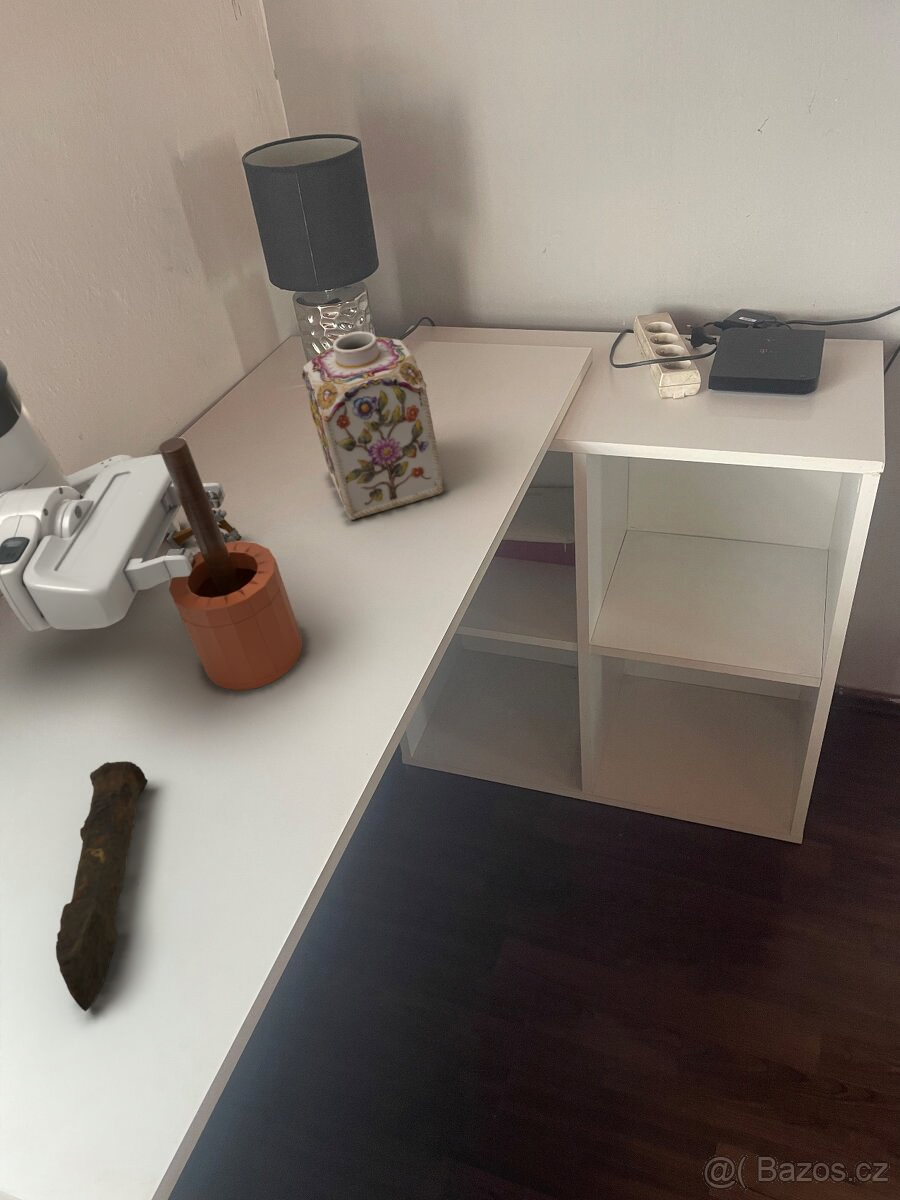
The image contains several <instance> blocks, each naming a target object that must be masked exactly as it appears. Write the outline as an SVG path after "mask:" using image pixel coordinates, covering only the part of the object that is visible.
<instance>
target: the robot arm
mask: <svg viewBox="0 0 900 1200" xmlns="http://www.w3.org/2000/svg"><path fill="white" fill-rule="evenodd" d="M66 476H67V475H66V474H65V472H64V470H63V468H62V466H61V464H60V463H59V461H58V460H57V458H56V456H55V454H54V453H53V451H52V449H51V448H50V445H49V443H48V442H47V440H46V438H45V437H44V435H43V434H42V432H41V430H40V428H39V426H38V425H37V424H36V422H35V420H34V419H33V417H32V415H31V414H30V412H29V410H28V408H27V407H26V405H25V404H24V402H23V401H22V397H21V395H20V392H19V391H18V389H17V387H16V384H15V383H14V380H13V378H12V376H11V374H10V372H9V370H8V369H7V366H6V364H5V363H4V362H3V361H2V360H0V592H1V594H2V595H3V597H4V599H5V600H6V602H7V604H8V606H9V607H10V608H11V610H12V612H13V613H14V615H15V616H16V618H17V619H18V620H19V621H20V623H21V624H22V625H23V627H24V628H25V629H26V630H27V631H28V632H40V631H45V630H48V629H49V628H52V629H56V630H61V631H62V630H65V631H67V630H90V629H91V630H92V629H101V628H106V627H109V626H112V625H114V624H115V623H117V622H120V621H121V620H123V619H124V618H125V617H126V615H127V613H128V611H129V610H130V607H131V605H132V603H133V601H134V599H135V597H136V595H137V593H138V591H141V590H143V591H144V590H149V589H151V588H153V587H156V586H157V585H160V584H162V583H164V582H166V581H169V580H171V579H172V578H173V577H186V576H189V575H190V574H191V572H192V569H193V567H194V565H195V562H196V561H195V559H194V558H193V556H194V553H193V552H192V550H191V549H189V548H187V547H181V548H180V549H176V548H170V549H168V551H167V552H166V554H164V555H162V556H159V557H156V555H157V554H158V552H159V550H160V548H161V546H162V544H163V542H164V540H165V538H166V536H167V535H168V533H169V532H168V530H169V528H170V526H171V524H172V522H173V520H174V518H175V519H176V517H177V514H178V511H179V510H180V508H181V507H182V505H181V502H180V500H179V497H178V495H177V492H176V490H175V488H174V485H173V483H172V480H171V478H170V475H169V473H168V470H167V468H166V465H165V463H164V461H163V458H162V456H161V453H158V454H152V455H146V456H145V455H144V456H139V457H134V458H133V459H128V460H123V461H119V462H116V463H113V464H111V465H108V466H107V467H105V468H104V469H103V470H102V471H101V472H100V473H99V474H98V476H97V477H94V478H93V479H92V480H91V481H90V482H89V483H88V485H87V488H86V490H85V491H84V492H83V493H82V494H80V493H79V492H78V491H77V490H75V489H73V488H71V487H70V484H69V482H68V480H67V478H66ZM202 484H203V486H204V489H205V492H206V494H207V497H208V500H209V502H210V505H211V507H212V509H220V508H221V506H222V505H223V502H224V500H225V498H226V493H225V489H224V488H223V485H222V484H221V483H219V482H204V483H203V482H202Z"/></svg>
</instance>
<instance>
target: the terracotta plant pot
mask: <svg viewBox="0 0 900 1200" xmlns="http://www.w3.org/2000/svg"><path fill="white" fill-rule="evenodd" d="M225 544H226V547H227V549H228V552H229V555H230V557H231V560H232V563H233V565H234V568H235V570H236V573H237V576H238V578H239V581H240V583H241V586H242V588H241V589H240V590H238V591H236V592H233V593H231V594H228V595H226V596H220V597H219V595H218V593H217V591H216V588H215V586H214V583H213V581H212V578H211V576H210V573H209V571H208V568H207V566H206V564H205V561H204V559H203V556H202V554H201V551H200V550H199V552H196V554H193V558H194V559H195V561H196V562H195V565H194V567H193V569H192V572H191V574H190V575H189V576H186V577H173V578H171V579H170V583H169V587H168V588H169V589H168V591H169V593H170V595H171V598H172V600H173V602H174V604H175V607H176V609H177V611H178V613H179V616H180V618H181V620H182V622H183V624H184V625H183V626H184V627H185V629H186V631H187V633H188V635H189V636H188V637H189V638H190V640H191V643H192V644H193V647H194V649H195V652H196V654H197V656H198V657H199V660H200V662H201V664H202V666H203V668H204V671H205V674H206V675H207V677H208V679H210V680H211V681H212V683H214V684H215V685H217V686H219V687H222V688H224V689H227V690H232V691H233V690H234V691H246V690H253V689H258V688H261V687H264V686H267V685H269V684H271V683H273V682H275V681H277V680H278V679H280V678H282V677H283V676H284V675H286V674H287V673H288V672H289V671H290V670H291V669H292V668H293V667H294V666H295V665H296V663H297V662H298V659H299V658H300V656H301V653H302V650H303V639H302V636H301V634H302V633H301V630H300V627H299V625H298V622H297V619H296V616H295V613H294V610H293V607H292V604H291V602H290V601H291V600H290V599H289V595H288V591H287V589H286V586H285V583H284V580H283V577H282V574H281V572H280V569H279V566H278V563H277V560H276V558H275V556H274V555H273V553H272V551H271V550H270V549H269V548H267V547H265V546H264V545H261V544H259V543H257V542H251V541H242V540H240V541H236V540H235V541H230V542H226V543H225Z"/></svg>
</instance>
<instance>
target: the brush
mask: <svg viewBox="0 0 900 1200" xmlns="http://www.w3.org/2000/svg"><path fill="white" fill-rule="evenodd" d="M158 451H159V454H161V456H162V458H163V461H164V463H165V465H166V468H167V470H168V473H169V475H170V478H171V480H172V483H173V485H174V488H175V490H176V492H177V495H178V497H179V500H180V502H181V505H182V506H181V507H182V509H183V512H184V515H185V517H186V519H187V522H188V524H189V528H190V527H191V529H192V532H193V534H194V535H193V536H194V539H195V541H196V544H197V546H198V549H199V552H200V551H201V554H202V556H203V559H204V561H205V564H206V566H207V568H208V571H209V573H210V576H211V578H212V581H213V583H214V586H215V588H216V591H217V593H218V595H219V597H220V596H226V595H228V594H231V593H233V592H236V591H238V590H240V589H241V588H242V586H241V583H240V581H239V578H238V576H237V573H236V570H235V568H234V565H233V563H232V560H231V557H230V555H229V552H228V549H227V547H226V544H225V542H224V539H223V536H222V534H221V532H222V530H221V528H219V526H218V524H219V523H217V521H216V518H215V515H214V513H213V510H214V509H213V508H212V507H211V505H210V502H209V500H208V497H207V494H206V492H205V489H204V486H203V482H202V479H201V476H200V473H199V471H198V468H197V465H196V463H195V460H194V457H193V455H192V453H191V450H190V447H189V445H188V442H187V440H186V439H185V438H184V437H173V438H169V439H166V440H164V441H163V442H162V443H160V444H159V446H158Z"/></svg>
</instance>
